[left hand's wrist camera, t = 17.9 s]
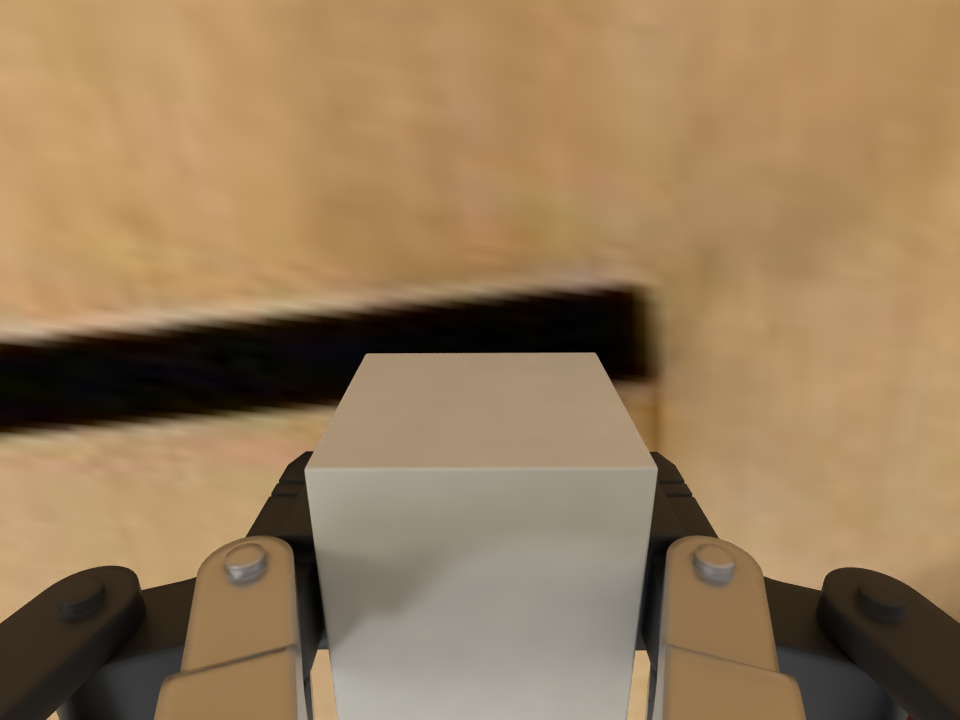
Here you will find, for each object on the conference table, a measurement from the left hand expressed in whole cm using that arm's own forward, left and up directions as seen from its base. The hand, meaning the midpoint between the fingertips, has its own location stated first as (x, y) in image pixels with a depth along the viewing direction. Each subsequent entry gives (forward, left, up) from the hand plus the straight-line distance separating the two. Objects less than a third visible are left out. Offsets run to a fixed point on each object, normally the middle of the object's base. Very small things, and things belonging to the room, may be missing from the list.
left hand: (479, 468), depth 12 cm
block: (0, 0, 0) cm, 0 cm away
